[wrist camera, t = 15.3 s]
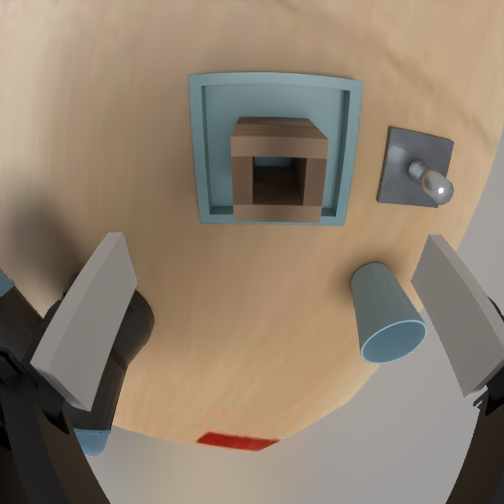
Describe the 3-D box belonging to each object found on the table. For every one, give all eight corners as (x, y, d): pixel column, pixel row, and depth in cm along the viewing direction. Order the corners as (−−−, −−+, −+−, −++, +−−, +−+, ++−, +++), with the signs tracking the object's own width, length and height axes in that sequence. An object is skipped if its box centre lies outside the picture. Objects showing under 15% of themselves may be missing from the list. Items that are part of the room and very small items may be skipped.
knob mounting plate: (376, 199, 27) (397, 228, 23) (389, 126, 23) (417, 142, 18) (435, 205, 27) (460, 232, 23) (450, 140, 22) (483, 159, 18)
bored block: (240, 178, 26) (233, 221, 20) (239, 116, 23) (230, 136, 16) (304, 180, 26) (319, 222, 20) (308, 118, 22) (328, 139, 16)
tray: (204, 212, 29) (200, 223, 27) (194, 75, 21) (188, 75, 19) (338, 214, 29) (343, 226, 27) (354, 80, 20) (362, 81, 19)
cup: (358, 248, 31) (387, 316, 23) (407, 261, 32) (440, 323, 24) (332, 294, 36) (348, 362, 27) (379, 302, 37) (400, 364, 28)
